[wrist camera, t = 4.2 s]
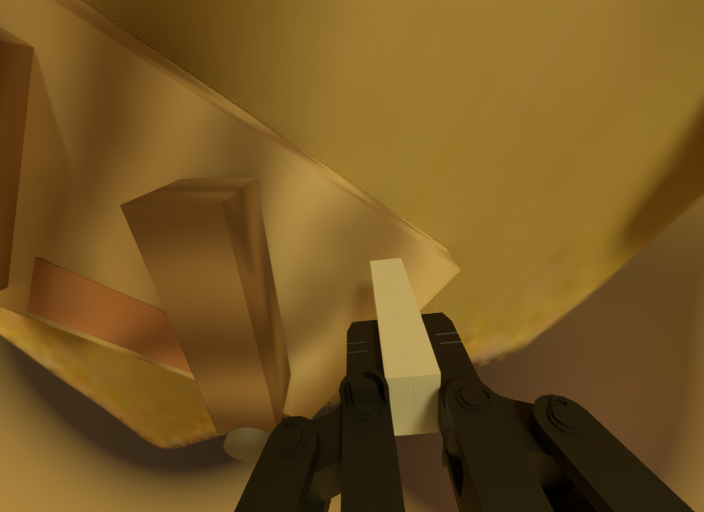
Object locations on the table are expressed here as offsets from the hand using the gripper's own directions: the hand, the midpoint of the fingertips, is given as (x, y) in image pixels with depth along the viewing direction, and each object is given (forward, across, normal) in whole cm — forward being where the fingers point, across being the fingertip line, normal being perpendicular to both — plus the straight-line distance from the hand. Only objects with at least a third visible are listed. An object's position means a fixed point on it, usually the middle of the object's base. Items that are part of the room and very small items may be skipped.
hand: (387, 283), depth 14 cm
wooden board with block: (+5, -11, 0) cm, 12 cm away
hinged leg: (+2, -8, -3) cm, 9 cm away
